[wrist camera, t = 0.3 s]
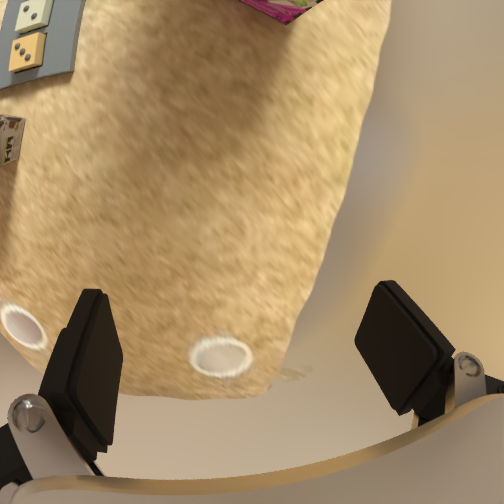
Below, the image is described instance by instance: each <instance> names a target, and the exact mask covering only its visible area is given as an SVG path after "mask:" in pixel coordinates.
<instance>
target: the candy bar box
mask: <svg viewBox="0 0 504 504" xmlns="http://www.w3.org/2000/svg"><path fill="white" fill-rule="evenodd" d="M240 1H242V2H244V3H246V4H248V5H250V6H252V7H254V8H256V9H258V10H260V11H262V12H264V13H266V14H268V15H269V16H271V17H273V18H275V19H277V20H278V21H280V22H282V23H284V24H285V25H287V24H289V23H290V22H292V21H293V20H294V19H296V18H297V17H299V16H300V15H302V14H303V13H305V12H306V11H308V10H309V9H311V8H312V7H314V6H315V5H317V4H318V3H320V2H321V1H323V0H240Z"/></svg>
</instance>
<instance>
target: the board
mask: <svg viewBox="0 0 504 504" xmlns="http://www.w3.org/2000/svg"><path fill="white" fill-rule="evenodd" d="M26 1H29V0H8V3H7V6H6V10H5V14H4V17H3V22H2V26H1V31H0V90H1V89H4V88H7V87H10V86H14V85H17V84H21V83H24V82H28V81H32V80H36V79H40V78H44V77H48V76H53V75H57V74H62V73H68V72H73V71H74V67H75V58H76V50H77V43H78V37H79V31H80V25H81V20H82V15H83V10H84V6H85V1H86V0H55V1H54V4H53V9H52V13H51V17H50V22H49V26H48V27H44V28H41V29H38V30H35V31H32V32H28V33H26V32H25V33H26V34H25V33H20V32H16V31H15V27H16V23H17V18H18V14H19V10H20V6H21V3H24V2H26ZM37 32H40V33H43V34H45V35H47V38H46V44H45V51H44V58H43V66H42V67H38V68H34V69H30V70H27V71H23V72H20V71H18V72H12V71H9V63H10V55H11V49H12V43H13V41H14V40H17V39H19V38H22V37H25V36H28V35H31V34H34V33H37Z"/></svg>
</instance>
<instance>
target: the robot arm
mask: <svg viewBox="0 0 504 504" xmlns="http://www.w3.org/2000/svg"><path fill="white" fill-rule="evenodd" d="M355 345H356V347H357V349H358V350H359V352H360V354H361V356H362V357H363V359H364V361H365V362H366V364H367V365H368V367H369V369H370V371H371V373H372V374H373V376H374V378H375V379H376V381H377V383H378V385H379V386H380V388H381V390H382V392H383V393H384V395H385V397H386V398H387V400H388V402H389V404H390V406H391V407H392V408H393V409H394V410H396V412H397V413H398V415H399V416H400V415H403V414H405V413H408V412H410V411H411V409H412V408H413V410H414V417H413V422H412V427H411V430H410V431H408V432H406V433H403V434H401V435H399V436H396V437H394V438H392V439H389V440H386V441H384V442H381V443H378V444H376V445H373V446H370V447H367V448H365V449H361V450H359V451H355V452H352V453H349V454H346V455H343V456H339V457H336V458H332V459H328V460H325V461H321V462H317V463H313V464H309V465H304V466H300V467H295V468H290V469H286V470H280V471H274V472H268V473H262V474H255V475H248V476H238V477H228V478H215V479H197V480H151V479H133V478H117V477H106V475H105V474H104V473H103V471H102V470H101V469H100V467H99V466H98V465H97V464H96V462H95V460H96V459H97V452H104V453H107V446H108V445H112V443H113V433H114V424H115V414H116V405H117V397H118V390H119V382H120V376H121V369H122V363H123V353H122V349H121V345H120V342H119V338H118V335H117V331H116V327H115V324H114V320H113V316H112V312H111V308H110V304H109V299H108V295H107V294H103V293H102V291H101V289H84V290H83V291H82V293H81V295H80V297H79V300H78V302H77V304H76V306H75V309H74V311H73V313H72V316H71V318H70V320H69V323H68V325H67V327H66V328H63V329H62V330H61V332H60V334H59V337H58V339H57V342H56V344H55V347H54V349H53V352H52V354H51V357H50V360H49V363H48V365H47V368H46V371H45V374H44V377H43V380H42V383H41V386H40V389H39V392H38V395H36V394H25V395H22V396H19V397H18V398H17V399H15V400H14V401H13V403H12V404H11V405H10V408H9V410H8V417H7V419H8V423H7V424H6V425H4V426H2V427H1V428H0V504H504V381H501V380H498V379H495V378H493V377H490V376H487V375H485V374H484V368H483V365H482V363H481V362H480V361H479V359H478V358H477V357H475V356H474V355H472V354H470V353H467V352H460V353H458V354H457V355H456V356H455V358H454V359H453V358H452V357H451V356H452V354H453V353H454V351H455V348H454V347H453V346H452V345H451V343H450V342H449V341H448V340H447V338H446V337H445V336H444V335H443V334H442V333H441V331H439V329H438V328H437V327H436V326H435V324H434V323H433V322H432V321H431V320H430V319H429V318H428V316H427V315H426V314H425V313H424V312H423V311H422V310H421V309H420V307H418V305H417V304H416V303H415V302H414V301H413V300H412V299H411V298H410V297H409V295H408V294H407V293H406V292H405V291H404V290H403V289H402V288H401V287H400V286H399V285H398V284H397V283H396V282H395V281H393V280H388V281H380V282H379V283H378V284H377V285H376V286H375V287H374V290H373V292H372V296H371V298H370V301H369V303H368V306H367V309H366V312H365V314H364V316H363V319H362V321H361V324H360V326H359V329H358V331H357V334H356V336H355Z"/></svg>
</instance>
